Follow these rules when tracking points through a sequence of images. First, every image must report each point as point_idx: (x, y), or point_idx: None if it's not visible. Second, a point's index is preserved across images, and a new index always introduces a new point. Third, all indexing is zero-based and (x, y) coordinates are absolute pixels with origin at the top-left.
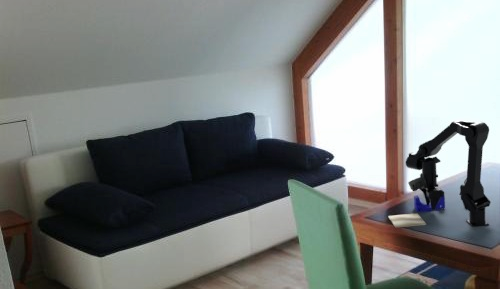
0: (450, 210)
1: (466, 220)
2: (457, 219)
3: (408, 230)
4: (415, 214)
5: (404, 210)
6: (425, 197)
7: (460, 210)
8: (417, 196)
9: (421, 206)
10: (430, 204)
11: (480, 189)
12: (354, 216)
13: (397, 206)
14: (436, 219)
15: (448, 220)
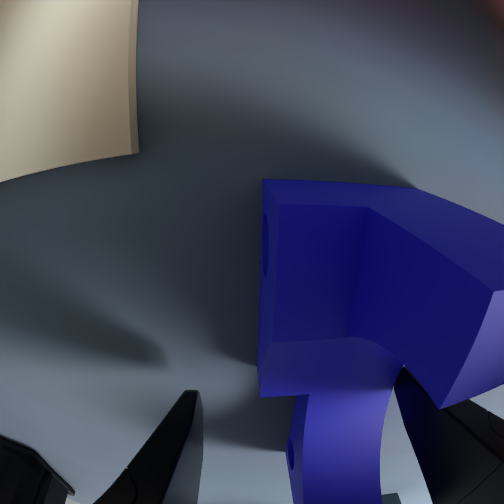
0: (228, 467)
1: (26, 451)
2: (45, 436)
3: None
4: (82, 123)
5: (377, 26)
6: (457, 427)
7: (216, 492)
8: None
9: (271, 296)
10: (377, 398)
11: None
12: None
13: (500, 37)
14: (5, 331)
15: (12, 392)
